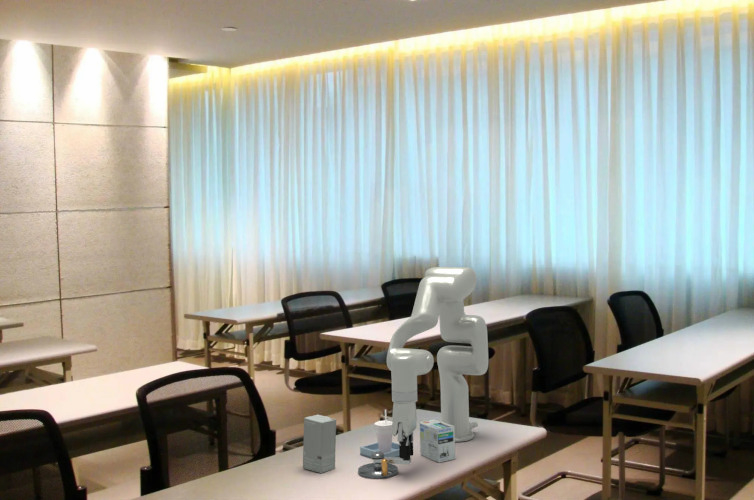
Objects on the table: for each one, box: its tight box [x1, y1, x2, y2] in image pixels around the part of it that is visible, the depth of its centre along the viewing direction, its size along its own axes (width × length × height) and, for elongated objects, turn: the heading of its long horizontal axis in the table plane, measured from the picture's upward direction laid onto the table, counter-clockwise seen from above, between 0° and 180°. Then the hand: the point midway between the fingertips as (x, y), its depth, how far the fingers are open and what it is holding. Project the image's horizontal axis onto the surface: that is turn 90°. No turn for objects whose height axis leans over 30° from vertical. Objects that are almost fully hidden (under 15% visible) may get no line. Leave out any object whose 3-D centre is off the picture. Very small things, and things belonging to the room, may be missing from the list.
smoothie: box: [374, 409, 393, 453], centre depth 259 cm, size 6×6×14 cm
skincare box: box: [302, 414, 337, 474], centre depth 247 cm, size 8×7×16 cm
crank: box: [370, 440, 412, 466], centre depth 241 cm, size 12×4×7 cm, turn 74°
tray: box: [359, 441, 400, 459], centre depth 260 cm, size 11×11×2 cm
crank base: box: [357, 459, 399, 480], centre depth 242 cm, size 12×12×6 cm
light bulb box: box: [419, 419, 456, 463], centre depth 256 cm, size 11×7×11 cm, turn 31°
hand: (406, 456), depth 240 cm, fingers closed
